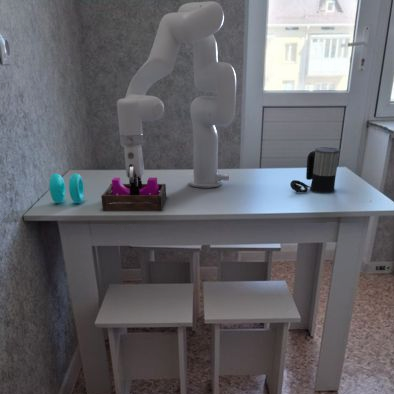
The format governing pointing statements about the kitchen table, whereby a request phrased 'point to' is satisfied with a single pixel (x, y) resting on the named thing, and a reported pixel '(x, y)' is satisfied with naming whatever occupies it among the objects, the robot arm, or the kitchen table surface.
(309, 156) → the milk frother
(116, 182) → the magenta cradle bracket
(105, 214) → the kitchen table surface
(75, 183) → the donuts
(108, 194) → the crate
